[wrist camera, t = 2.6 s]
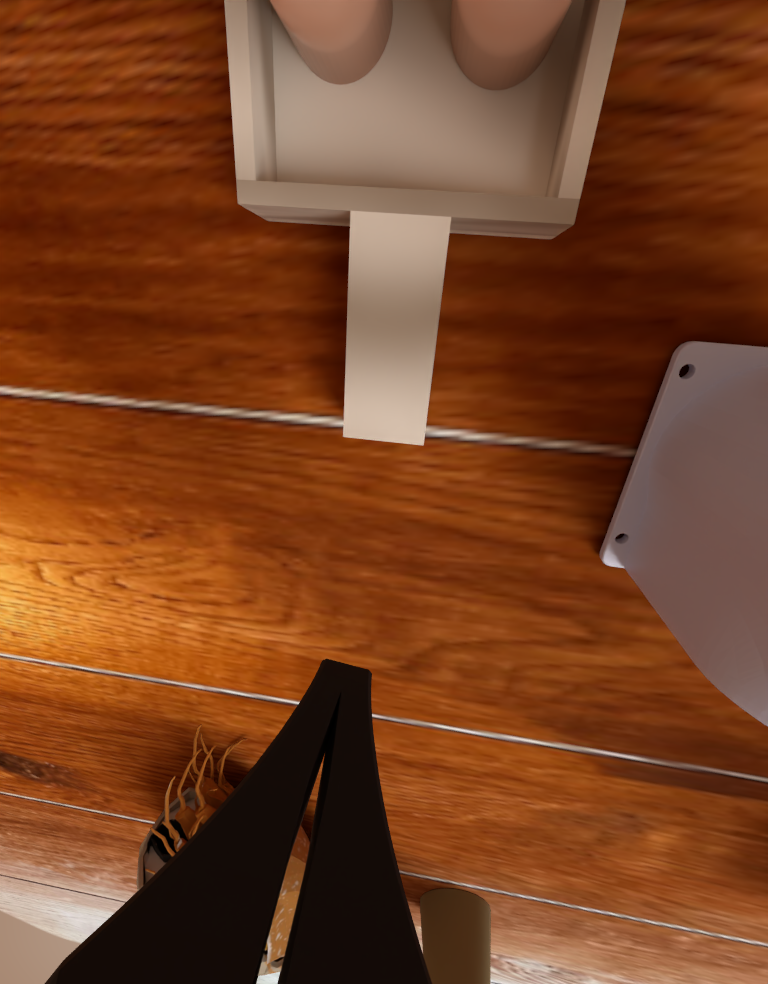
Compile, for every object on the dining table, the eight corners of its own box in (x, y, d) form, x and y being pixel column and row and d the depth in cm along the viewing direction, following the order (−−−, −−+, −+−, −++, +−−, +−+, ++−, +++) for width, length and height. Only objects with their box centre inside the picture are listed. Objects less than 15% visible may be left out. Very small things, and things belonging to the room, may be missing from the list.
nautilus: (136, 690, 27) (348, 702, 27) (191, 869, 35) (356, 883, 34) (35, 819, 20) (323, 842, 19) (132, 1009, 28) (341, 1032, 27)
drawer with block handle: (509, 437, 16) (520, 455, 14) (275, 412, 17) (252, 427, 15) (658, -259, 9) (726, -437, 7) (248, -247, 10) (197, -405, 8)
